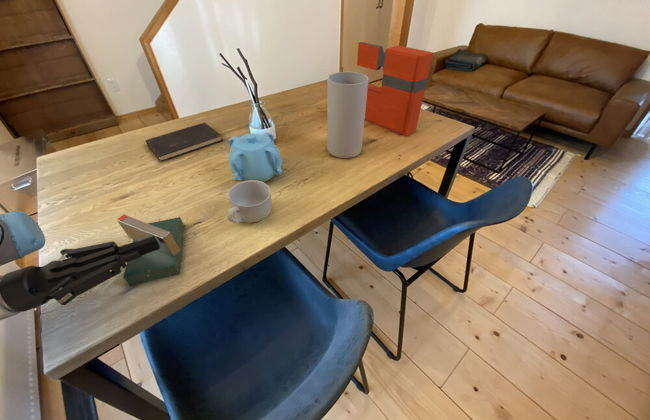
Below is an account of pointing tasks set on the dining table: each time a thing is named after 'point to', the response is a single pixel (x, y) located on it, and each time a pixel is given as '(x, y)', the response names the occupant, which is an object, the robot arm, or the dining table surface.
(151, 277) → the green block
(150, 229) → the red-tipped metal bar
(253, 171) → the decorative pot
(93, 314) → the dining table surface
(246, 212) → the teacup
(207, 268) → the dining table surface
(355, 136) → the cylinder vase
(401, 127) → the clamp
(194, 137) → the hardcover book
